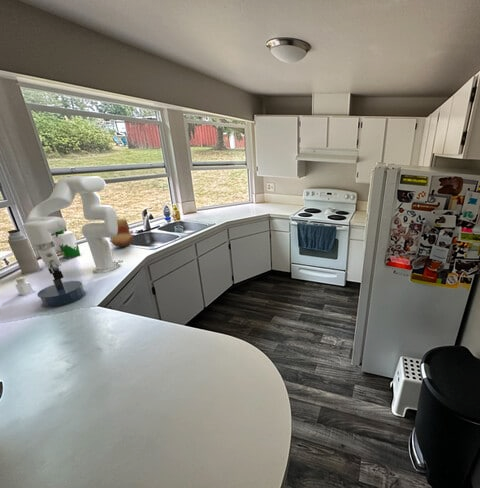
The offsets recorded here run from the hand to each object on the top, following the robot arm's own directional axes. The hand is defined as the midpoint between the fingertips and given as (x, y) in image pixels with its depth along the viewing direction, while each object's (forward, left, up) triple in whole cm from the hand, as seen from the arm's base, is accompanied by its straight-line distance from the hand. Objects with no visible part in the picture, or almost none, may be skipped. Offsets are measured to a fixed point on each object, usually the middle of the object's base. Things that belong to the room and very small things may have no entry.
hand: (56, 275), depth 130 cm
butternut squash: (-47, -63, -13) cm, 80 cm away
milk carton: (-16, -70, -13) cm, 73 cm away
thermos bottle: (+6, -56, -13) cm, 58 cm away
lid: (+1, +2, -7) cm, 7 cm away
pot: (+1, +2, -13) cm, 13 cm away
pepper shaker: (+12, -21, -13) cm, 27 cm away
